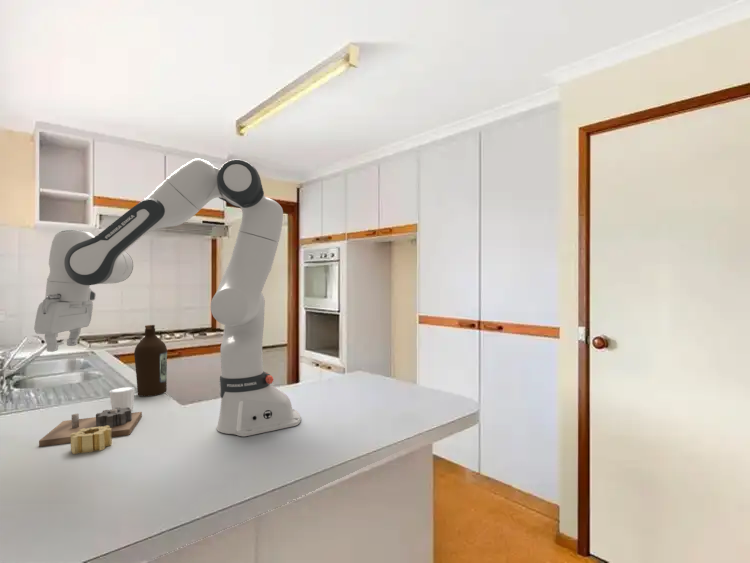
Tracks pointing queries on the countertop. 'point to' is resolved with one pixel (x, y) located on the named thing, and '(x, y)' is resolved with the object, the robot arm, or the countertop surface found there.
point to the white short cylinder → (122, 397)
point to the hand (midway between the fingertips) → (62, 348)
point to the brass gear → (91, 439)
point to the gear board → (94, 425)
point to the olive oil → (151, 364)
